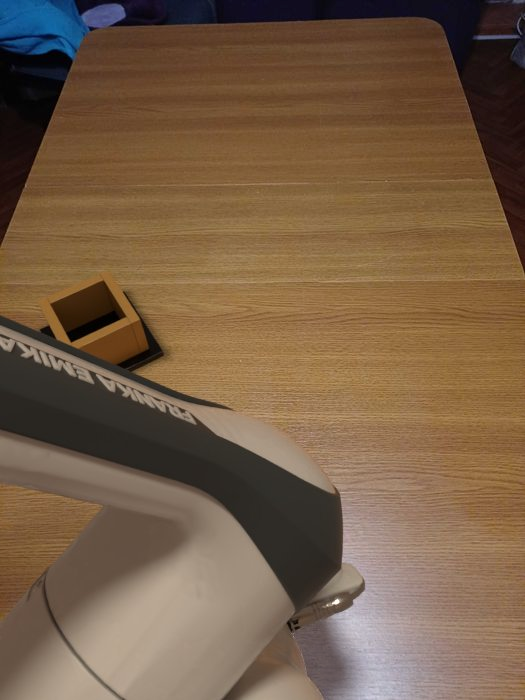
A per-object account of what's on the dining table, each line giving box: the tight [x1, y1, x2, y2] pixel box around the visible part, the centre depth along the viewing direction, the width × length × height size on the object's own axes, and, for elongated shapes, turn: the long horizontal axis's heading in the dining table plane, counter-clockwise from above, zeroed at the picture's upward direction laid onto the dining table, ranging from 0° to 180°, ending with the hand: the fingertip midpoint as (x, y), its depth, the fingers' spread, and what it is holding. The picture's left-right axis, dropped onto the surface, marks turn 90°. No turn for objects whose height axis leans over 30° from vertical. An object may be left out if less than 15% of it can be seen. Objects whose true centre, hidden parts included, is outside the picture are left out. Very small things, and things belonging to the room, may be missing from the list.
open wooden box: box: [36, 270, 165, 372], centre depth 76 cm, size 12×12×7 cm
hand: (194, 556), depth 51 cm, fingers closed on box, 5 cm apart
